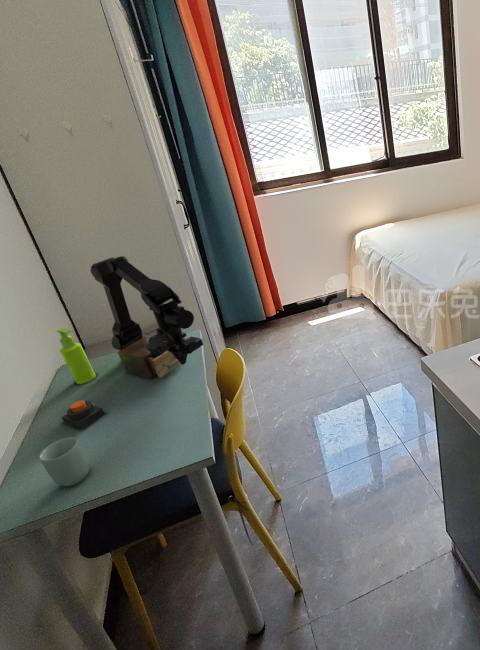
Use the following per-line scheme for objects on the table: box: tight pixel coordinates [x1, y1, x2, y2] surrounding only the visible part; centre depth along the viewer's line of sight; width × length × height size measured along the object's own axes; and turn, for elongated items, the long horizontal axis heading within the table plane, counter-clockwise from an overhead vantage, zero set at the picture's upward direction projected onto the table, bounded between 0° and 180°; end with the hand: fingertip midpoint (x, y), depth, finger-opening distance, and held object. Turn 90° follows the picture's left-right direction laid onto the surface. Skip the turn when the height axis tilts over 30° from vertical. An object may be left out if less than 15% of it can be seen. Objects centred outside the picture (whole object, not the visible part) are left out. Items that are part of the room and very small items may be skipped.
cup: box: [38, 436, 90, 487], centre depth 109 cm, size 8×8×10 cm
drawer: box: [146, 351, 182, 379], centre depth 152 cm, size 17×9×7 cm, turn 65°
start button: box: [69, 399, 87, 413], centre depth 132 cm, size 4×4×2 cm
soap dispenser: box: [56, 327, 97, 385], centre depth 150 cm, size 6×7×20 cm
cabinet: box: [116, 336, 158, 380], centre depth 155 cm, size 14×11×9 cm
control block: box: [60, 400, 106, 430], centre depth 133 cm, size 9×7×4 cm
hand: (183, 363), depth 147 cm, fingers closed
